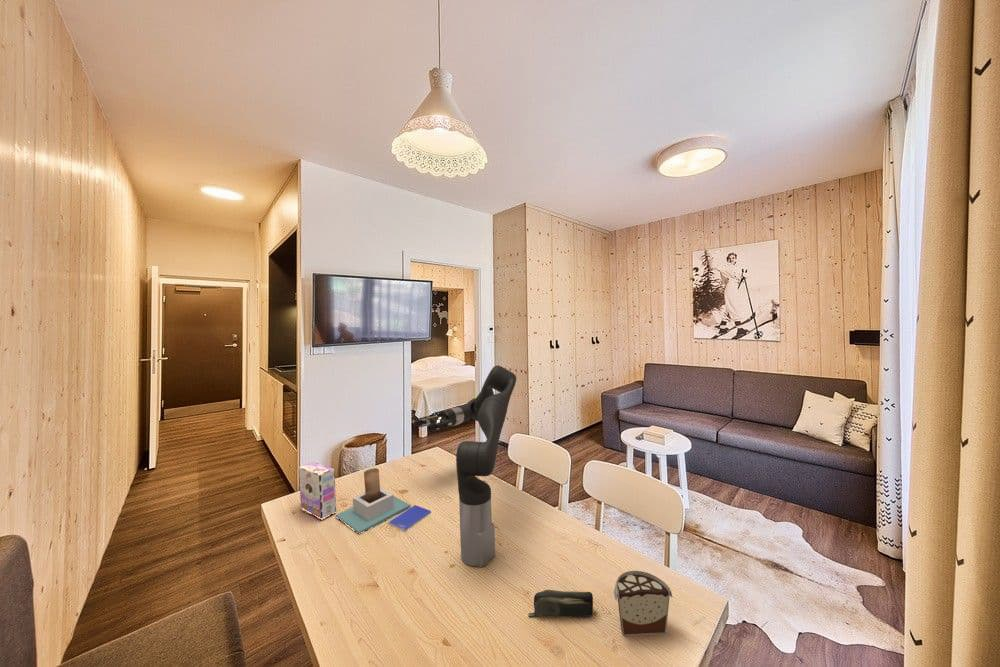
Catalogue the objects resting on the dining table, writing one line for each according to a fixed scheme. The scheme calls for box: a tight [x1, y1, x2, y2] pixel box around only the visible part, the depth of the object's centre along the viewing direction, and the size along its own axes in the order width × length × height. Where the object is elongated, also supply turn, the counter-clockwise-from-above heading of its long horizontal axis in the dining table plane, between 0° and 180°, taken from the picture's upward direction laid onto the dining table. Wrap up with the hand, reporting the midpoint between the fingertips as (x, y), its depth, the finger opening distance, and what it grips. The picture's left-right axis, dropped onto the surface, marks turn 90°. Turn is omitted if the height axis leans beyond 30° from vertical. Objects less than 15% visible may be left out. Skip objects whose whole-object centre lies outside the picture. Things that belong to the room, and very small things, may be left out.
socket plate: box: [335, 487, 411, 533], centre depth 122 cm, size 16×20×6 cm
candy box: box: [298, 461, 337, 518], centre depth 123 cm, size 14×6×16 cm, turn 58°
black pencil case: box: [528, 589, 594, 619], centre depth 78 cm, size 5×3×15 cm
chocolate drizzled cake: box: [613, 570, 673, 637], centre depth 76 cm, size 12×6×10 cm, turn 92°
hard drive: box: [387, 504, 432, 533], centre depth 118 cm, size 2×8×12 cm
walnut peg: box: [363, 467, 381, 504], centre depth 122 cm, size 5×5×14 cm
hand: (420, 426), depth 133 cm, fingers open, 8 cm apart
